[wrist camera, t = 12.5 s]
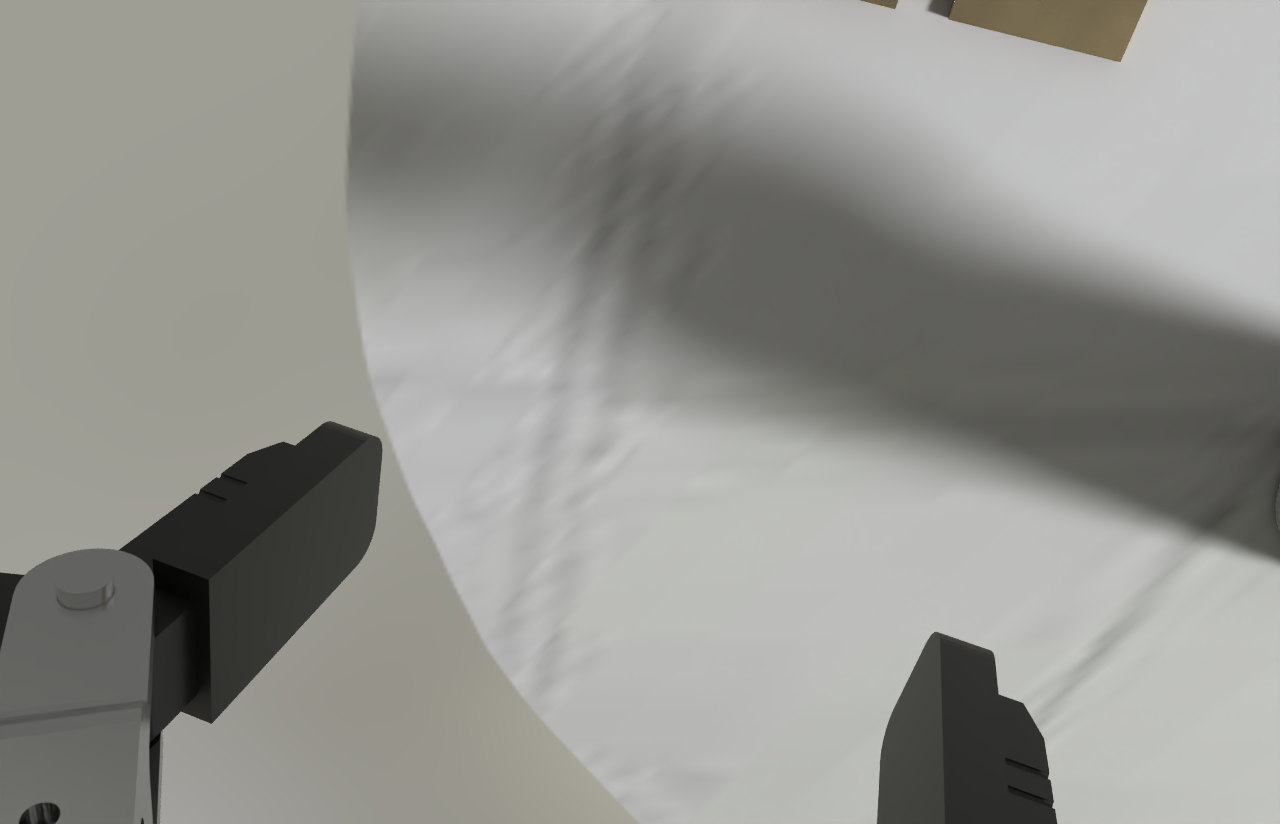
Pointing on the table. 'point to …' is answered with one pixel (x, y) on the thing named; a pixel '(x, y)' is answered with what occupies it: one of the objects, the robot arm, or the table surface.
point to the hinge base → (1054, 21)
